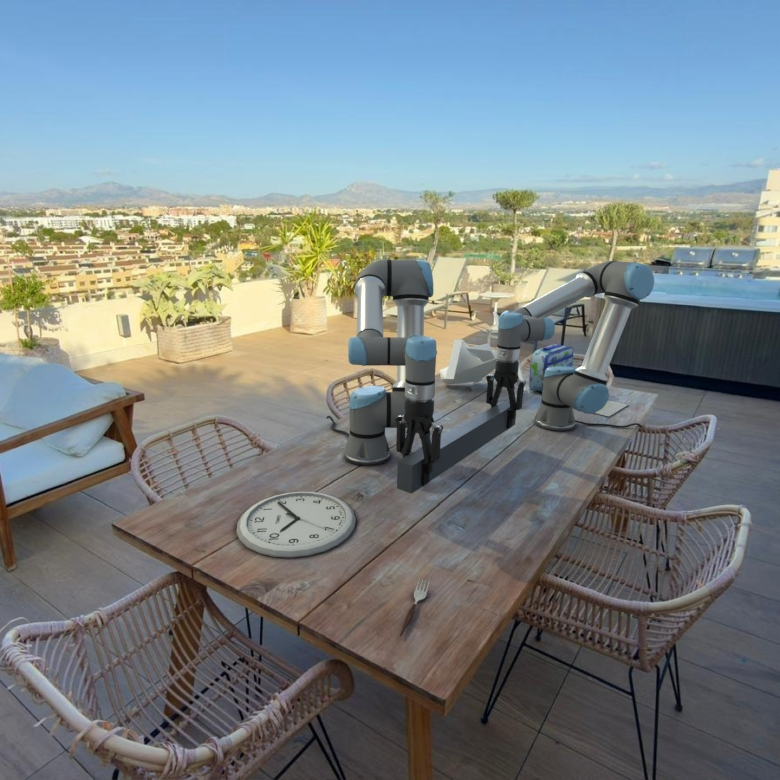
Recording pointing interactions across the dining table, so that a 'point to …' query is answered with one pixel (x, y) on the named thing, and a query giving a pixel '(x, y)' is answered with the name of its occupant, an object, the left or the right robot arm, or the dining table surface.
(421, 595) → the fork
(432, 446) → the left robot arm
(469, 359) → the white plastic object
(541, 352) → the lunch box
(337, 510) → the wall clock
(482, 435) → the post
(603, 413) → the invitation card
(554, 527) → the dining table surface
